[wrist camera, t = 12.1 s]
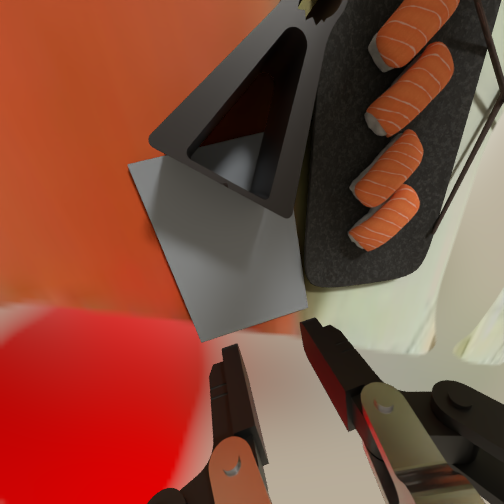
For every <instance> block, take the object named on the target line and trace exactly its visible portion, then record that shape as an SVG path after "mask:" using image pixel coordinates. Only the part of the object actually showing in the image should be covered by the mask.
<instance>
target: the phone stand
mask: <svg viewBox="0 0 504 504" xmlns="http://www.w3.org/2000/svg"><path fill="white" fill-rule="evenodd" d="M301 1H302V0H280V2H279V4H278V5H277V6H276V7H275V8H274V9H273V10H272V11H271V12H270V13H269V14H268V15H267V17H266V18H265V19H264V20H263V21H262V22H261V23H260V24H259V25H258V26H257V27H256V28H255V29H254V30H253V31H252V32H251V33H250V34H249V35H248V36H247V37H246V38H245V39H244V40H243V41H242V42H241V43H240V44H239V45H238V46H237V47H236V48H235V49H234V50H233V51H232V52H231V53H230V54H229V55H228V56H227V57H226V58H225V59H224V60H223V61H222V62H221V63H220V64H219V65H218V66H217V67H216V68H215V69H214V70H213V71H212V72H211V73H210V74H209V75H208V76H207V78H206V79H205V80H204V81H203V82H202V83H201V84H200V85H199V86H198V87H197V88H196V89H195V90H194V91H193V92H192V93H191V94H190V95H189V96H188V97H187V98H186V99H185V100H184V101H183V102H182V103H181V104H180V105H179V106H178V107H177V108H176V109H175V110H174V111H173V112H172V113H171V114H170V115H169V116H168V117H167V118H166V119H165V120H164V121H163V122H162V123H161V124H160V125H159V126H158V127H157V128H156V129H155V130H154V131H153V132H152V133H151V134H150V136H149V144H150V145H151V146H152V147H153V148H155V149H157V150H159V151H161V152H162V153H164V154H166V155H168V156H170V157H172V158H174V159H175V160H177V161H179V162H181V163H183V164H185V165H187V166H188V167H190V168H192V169H194V170H196V171H198V172H200V173H201V174H203V175H205V176H207V177H209V178H211V179H213V180H214V181H216V182H218V183H220V184H222V185H224V186H226V187H227V188H229V189H231V190H233V191H235V192H237V193H239V194H240V195H242V196H244V197H246V198H248V199H250V200H251V201H253V202H255V203H257V204H259V205H261V206H263V207H264V208H266V209H268V210H270V211H272V212H274V213H276V214H277V215H279V216H281V217H283V218H285V219H288V218H290V217H291V216H292V214H293V209H294V204H295V199H296V194H297V188H298V183H299V178H300V173H301V168H302V163H303V158H304V153H305V148H306V143H307V138H308V133H309V127H310V122H311V117H312V112H313V107H314V102H315V97H316V92H317V87H318V82H319V77H320V71H321V66H322V61H323V56H324V51H325V47H326V43H327V40H328V37H329V35H330V32H331V30H332V28H333V26H334V24H335V23H336V21H337V20H338V18H339V17H340V16H341V14H342V13H343V11H344V9H345V7H346V4H347V1H348V0H318V1H317V2H316V4H315V5H314V7H313V8H312V9H311V11H310V12H309V14H308V15H307V17H306V18H305V10H300V9H298V6H299V4H300V3H301ZM261 73H268V74H269V75H271V76H272V78H273V80H274V91H273V95H272V99H271V104H270V108H269V112H268V117H267V121H266V125H265V130H264V134H263V138H262V143H261V147H260V151H259V156H258V160H257V164H256V169H255V173H254V177H253V182H252V186H251V190H250V191H247V190H245V189H243V188H241V187H240V186H238V185H236V184H234V183H232V182H231V181H229V180H227V179H225V178H223V177H221V176H220V175H218V174H216V173H214V172H212V171H211V170H209V169H207V168H205V167H203V166H201V165H200V164H198V163H196V162H194V161H192V160H191V156H192V155H193V153H194V152H195V151H196V150H197V149H198V147H199V146H200V145H201V144H202V143H203V141H204V140H205V139H206V138H207V136H208V135H209V134H210V133H211V132H212V130H213V129H214V128H215V127H216V126H217V124H218V123H219V122H220V121H221V120H222V118H223V117H224V116H225V115H226V114H227V112H228V111H229V110H230V109H231V108H232V106H233V105H234V104H235V103H236V101H237V100H238V99H239V98H240V97H241V95H242V94H243V93H244V92H245V91H246V89H247V88H248V87H249V86H250V85H251V83H252V82H253V81H254V80H255V79H256V77H257V76H258V75H259V74H261Z"/></svg>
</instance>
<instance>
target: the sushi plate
mask: <svg viewBox="0 0 504 504" xmlns="http://www.w3.org/2000/svg"><path fill="white" fill-rule="evenodd" d="M500 3H501V0H348V1H347V4H346V7H345V9H344V11H343V13H342V14H341V16H340V17H339V18H338V20H337V21H336V23H335V24H334V26H333V28H332V30H331V32H330V35H329V37H328V40H327V43H326V47H325V51H324V56H323V61H322V66H321V71H320V77H319V82H318V87H317V92H316V97H315V102H314V115H313V129H312V143H311V158H310V172H309V186H308V200H307V214H306V229H305V246H304V266H305V273H306V276H307V279H308V280H309V282H310V283H311V284H313V285H315V286H319V287H342V286H351V285H359V284H366V283H373V282H380V281H386V280H391V279H396V278H400V277H403V276H407V275H409V274H411V273H413V272H414V271H416V270H417V269H418V268H419V266H420V265H421V264H422V262H423V260H424V259H425V257H426V254H427V252H428V249H429V247H430V244H431V241H432V238H433V235H434V234H435V232H436V230H437V228H438V226H439V224H440V223H441V221H442V219H443V217H444V215H445V213H446V211H447V209H448V207H449V205H450V203H451V201H452V199H453V198H454V196H455V194H456V192H457V190H458V188H459V186H460V184H461V182H462V180H463V178H464V176H465V174H466V173H467V171H468V169H469V167H470V165H471V163H472V161H473V159H474V157H475V155H476V153H477V151H478V149H479V148H480V146H481V144H482V142H483V140H484V138H485V136H486V134H487V132H488V130H489V128H490V127H491V125H492V123H493V121H494V119H495V117H496V115H497V113H498V111H499V109H500V108H501V106H502V104H503V102H504V76H503V73H502V69H501V66H500V62H499V59H498V56H497V52H496V49H495V46H494V42H493V39H492V31H493V28H494V24H495V21H496V17H497V14H498V10H499V7H500ZM487 49H488V52H489V55H490V58H491V62H492V65H493V69H494V72H495V75H496V79H497V82H498V85H499V89H500V92H501V93H500V95H499V97H498V99H497V101H496V103H495V105H494V107H493V109H492V111H491V114H490V116H489V118H488V120H487V122H486V124H485V126H484V128H483V130H482V132H481V134H480V136H479V138H478V140H477V142H476V144H475V146H474V148H473V150H472V152H471V154H470V156H469V158H468V160H467V162H466V164H465V166H464V168H463V170H462V172H461V174H460V176H459V178H458V180H457V182H456V184H455V186H454V188H453V190H452V192H451V194H450V196H449V198H448V200H447V202H446V204H445V205H444V207H443V209H442V211H441V208H442V204H443V201H444V197H445V194H446V190H447V187H448V183H449V180H450V177H451V173H452V170H453V166H454V163H455V159H456V156H457V152H458V149H459V145H460V142H461V138H462V135H463V132H464V128H465V125H466V121H467V118H468V114H469V111H470V107H471V104H472V100H473V97H474V94H475V90H476V87H477V83H478V80H479V76H480V73H481V69H482V66H483V62H484V59H485V55H486V52H487ZM440 211H441V213H440Z"/></svg>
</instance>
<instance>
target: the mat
mask: <svg viewBox="0 0 504 504" xmlns="http://www.w3.org/2000/svg"><path fill="white" fill-rule="evenodd" d="M263 134H264V132H261V133H257V134H253V135H249V136H244V137H240V138H236V139H232V140H228V141H224V142H219V143H215V144H211V145H207V146H203V147H199V148H198V149H197V150H196V151H195V152H194V153H193V155H192V156H191V160H192V161H194V162H196V163H198V164H200V165H201V166H203V167H205V168H207V169H209V170H211V171H212V172H214V173H216V174H218V175H220V176H221V177H223V178H225V179H227V180H229V181H231V182H232V183H234V184H236V185H238V186H240V187H241V188H243V189H245V190H247V191H250V190H251V186H252V182H253V177H254V173H255V169H256V164H257V160H258V156H259V151H260V147H261V143H262V138H263ZM128 167H129V170H130V172H131V174H132V177H133V179H134V182H135V184H136V186H137V189H138V191H139V194H140V196H141V198H142V201H143V203H144V206H145V208H146V211H147V213H148V215H149V218H150V220H151V223H152V225H153V227H154V230H155V232H156V235H157V237H158V239H159V242H160V244H161V247H162V249H163V251H164V254H165V256H166V259H167V261H168V263H169V266H170V268H171V271H172V273H173V275H174V278H175V280H176V283H177V285H178V287H179V290H180V292H181V295H182V297H183V299H184V302H185V304H186V307H187V309H188V311H189V314H190V316H191V319H192V321H193V323H194V326H195V328H196V331H197V333H198V335H199V338H200V340H201V342H205V341H208V340H211V339H214V338H217V337H220V336H223V335H226V334H229V333H232V332H235V331H238V330H241V329H244V328H247V327H250V326H254V325H257V324H260V323H263V322H266V321H269V320H272V319H275V318H278V317H281V316H284V315H287V314H290V313H293V312H296V311H299V310H302V309H305V308H308V304H307V298H306V291H305V284H304V277H303V271H302V264H301V257H300V250H299V243H298V237H297V230H296V223H295V216H294V210H293V214H292V216H291V217H290V218H288V219H285V218H283V217H281V216H279V215H277V214H276V213H274V212H272V211H270V210H268V209H266V208H264V207H263V206H261V205H259V204H257V203H255V202H253V201H251V200H250V199H248V198H246V197H244V196H242V195H240V194H239V193H237V192H235V191H233V190H231V189H229V188H227V187H226V186H224V185H222V184H220V183H218V182H216V181H214V180H213V179H211V178H209V177H207V176H205V175H203V174H201V173H200V172H198V171H196V170H194V169H192V168H190V167H188V166H187V165H185V164H183V163H181V162H179V161H177V160H175V159H174V158H172V157H170V156H168V155H165V156H161V157H157V158H153V159H149V160H145V161H140V162H136V163H132V164H128Z"/></svg>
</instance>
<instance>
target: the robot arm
mask: <svg viewBox="0 0 504 504" xmlns="http://www.w3.org/2000/svg"><path fill="white" fill-rule="evenodd" d="M300 329H301V335H302V341H303V347H304V350H305V353H306V355H307V358H308V360H309V362H310V363H311V365H312V367H313V369H314V371H315V372H316V374H317V376H318V378H319V380H320V381H321V383H322V385H323V387H324V389H325V390H326V392H327V394H328V396H329V398H330V399H331V401H332V403H333V405H334V407H335V409H336V410H337V412H338V414H339V416H340V417H341V419H342V421H343V423H344V425H345V427H346V428H347V430H348V432H349V431H352V430H354V429H356V430H357V431H358V433H359V435H360V437H361V438H362V443H363V448H364V451H365V454H366V456H367V459H368V461H369V464H370V466H371V468H372V471H373V474H374V476H375V478H376V481H377V483H378V486H379V488H380V491H381V493H382V496H383V498H384V501H385V503H386V504H485V502H484V501H483V499H482V498H481V497H483V498H484V499H485V500H487V501H488V502H489V503H490V504H504V405H503V404H501V403H500V402H498V401H496V400H494V399H492V398H490V397H488V396H486V395H484V394H482V393H480V392H478V391H476V390H474V389H473V388H471V387H469V386H467V385H464V384H462V383H459V382H456V381H449V380H445V381H440V382H438V383H436V384H435V385H434V386H433V389H432V392H405V391H400V390H397V389H396V388H394V387H393V386H391V385H388V384H386V383H384V382H383V381H382V380H380V378H379V377H378V376H377V375H376V374H375V372H374V371H373V370H372V369H371V368H370V366H369V365H368V364H367V363H366V362H365V360H364V359H363V358H362V357H361V355H360V354H359V353H358V352H357V351H356V349H354V347H353V346H352V344H351V343H350V342H348V340H347V338H346V337H345V336H344V335H343V333H342V332H341V331H340V330H338V329H336V328H335V327H333V326H331V325H328V326H325V327H322V325H321V324H320V322H319V321H318V320H317V319H316V318H315V317H314V318H311V319H309V320H306V321H303V322H300ZM222 355H223V362H220V363H217V364H214V365H213V367H212V370H211V373H210V376H209V380H210V394H211V395H210V396H211V409H212V410H211V411H212V426H213V442H214V443H213V450H212V454H211V457H210V459H209V461H208V463H207V465H206V466H205V468H204V469H203V470H202V471H201V473H199V474H198V476H196V477H195V478H194V479H193V480H192V481H190V482H189V483H188V484H187V485H186V486H185V487H183V488H182V489H181V490H180V491H179V490H177V489H174V488H167V489H164V490H161V491H160V492H158V493H157V494H156V495H154V496H153V497H152V499H151V500H150V501H149V502H148V503H147V504H272V502H271V499H270V497H269V494H268V488H267V482H266V478H265V473H264V469H263V466H264V465H266V464H269V463H268V459H267V454H266V450H265V446H264V442H263V437H262V433H261V429H260V425H259V421H258V416H257V413H256V409H255V404H254V400H253V396H252V392H251V387H250V383H249V379H248V375H247V372H246V368H245V365H244V362H243V359H242V356H241V353H240V350H239V347H238V344H234V345H231V346H228V347H225V348H222Z"/></svg>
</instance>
